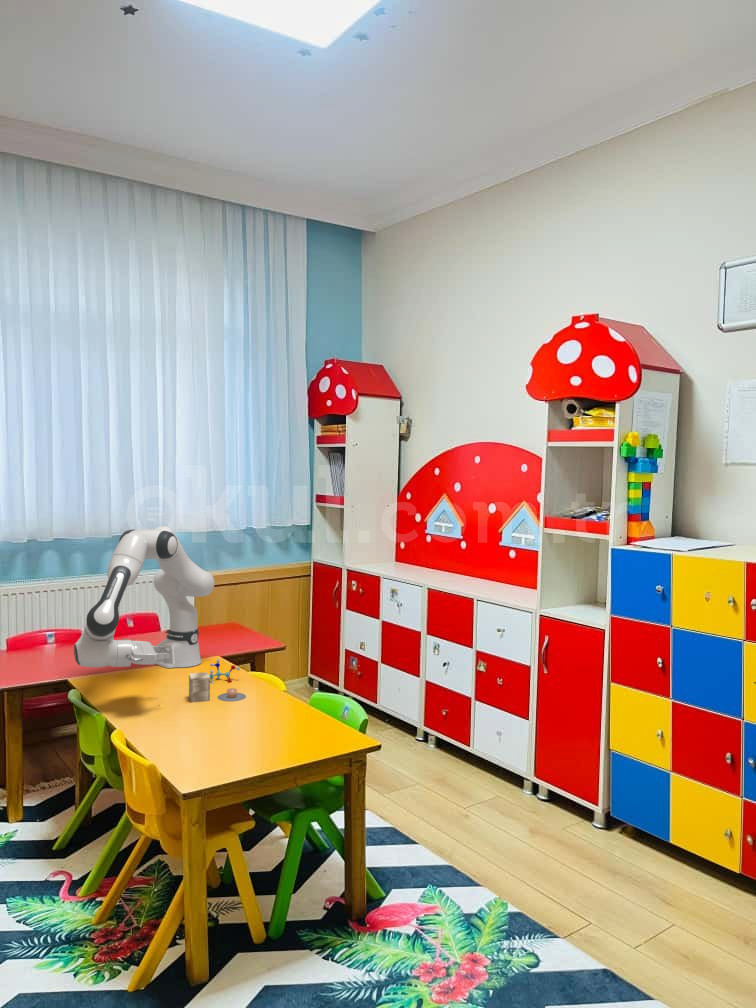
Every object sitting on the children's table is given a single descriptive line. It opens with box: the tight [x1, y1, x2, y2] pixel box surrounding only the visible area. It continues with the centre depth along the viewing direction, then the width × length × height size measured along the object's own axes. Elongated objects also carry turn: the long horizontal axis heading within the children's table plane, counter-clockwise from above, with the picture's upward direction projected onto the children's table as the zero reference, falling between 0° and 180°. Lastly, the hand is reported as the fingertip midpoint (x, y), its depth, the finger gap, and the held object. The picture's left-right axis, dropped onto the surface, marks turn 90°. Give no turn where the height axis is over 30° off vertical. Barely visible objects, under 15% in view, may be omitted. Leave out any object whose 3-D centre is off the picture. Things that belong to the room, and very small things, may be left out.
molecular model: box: [209, 658, 241, 685], centre depth 297 cm, size 12×10×10 cm
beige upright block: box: [188, 671, 211, 703], centre depth 275 cm, size 6×6×9 cm
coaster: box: [217, 692, 247, 703], centre depth 278 cm, size 10×10×1 cm
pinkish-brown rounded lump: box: [226, 687, 238, 698], centre depth 278 cm, size 4×4×2 cm
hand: (167, 652), depth 270 cm, fingers open, 8 cm apart
